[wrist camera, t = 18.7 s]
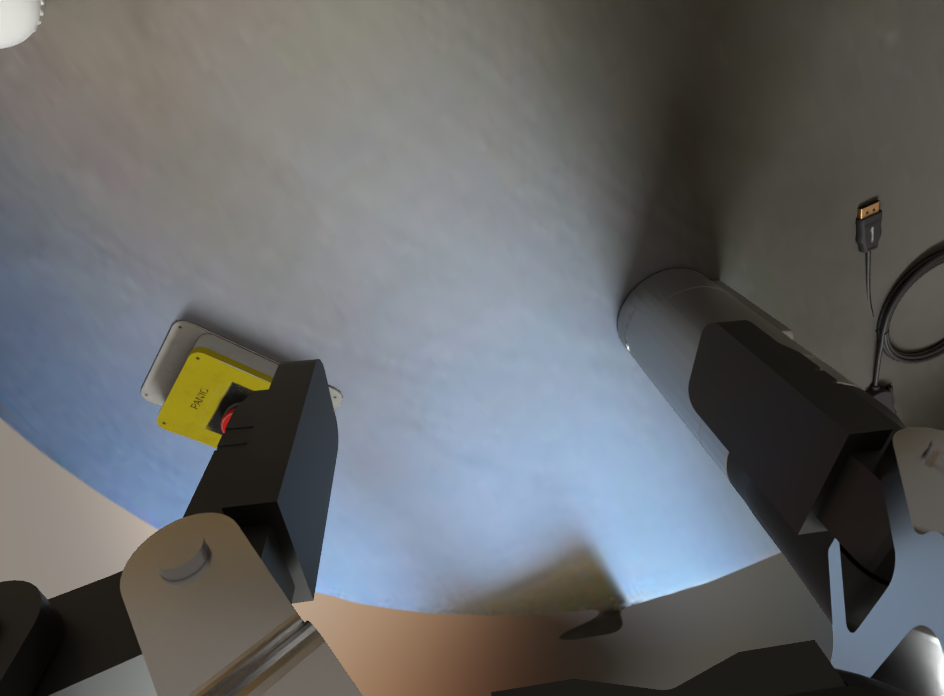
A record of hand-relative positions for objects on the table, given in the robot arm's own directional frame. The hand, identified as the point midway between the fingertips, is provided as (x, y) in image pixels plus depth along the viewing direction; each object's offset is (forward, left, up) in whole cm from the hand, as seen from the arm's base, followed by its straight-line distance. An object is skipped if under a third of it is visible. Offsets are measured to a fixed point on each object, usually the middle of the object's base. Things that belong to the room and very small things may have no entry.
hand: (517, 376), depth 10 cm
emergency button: (+18, +19, -29) cm, 39 cm away
